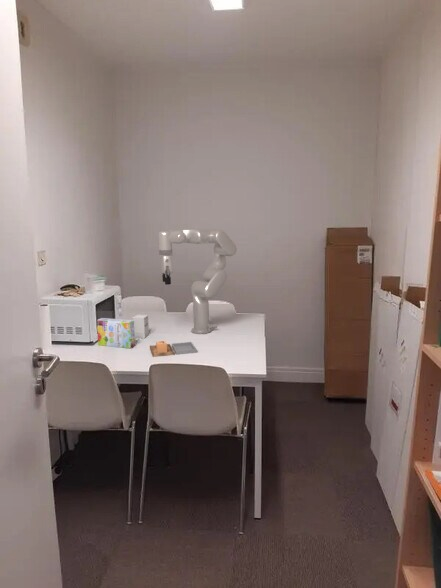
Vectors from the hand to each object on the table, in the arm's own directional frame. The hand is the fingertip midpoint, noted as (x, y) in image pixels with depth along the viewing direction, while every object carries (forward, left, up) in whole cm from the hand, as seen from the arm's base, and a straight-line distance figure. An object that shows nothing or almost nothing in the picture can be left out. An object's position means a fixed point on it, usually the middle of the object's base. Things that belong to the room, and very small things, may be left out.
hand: (166, 283), depth 256 cm
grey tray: (-4, +25, -33) cm, 42 cm away
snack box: (+30, +4, -34) cm, 45 cm away
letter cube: (+8, +24, -32) cm, 41 cm away
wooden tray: (+8, +25, -33) cm, 42 cm away
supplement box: (+15, -10, -34) cm, 38 cm away
